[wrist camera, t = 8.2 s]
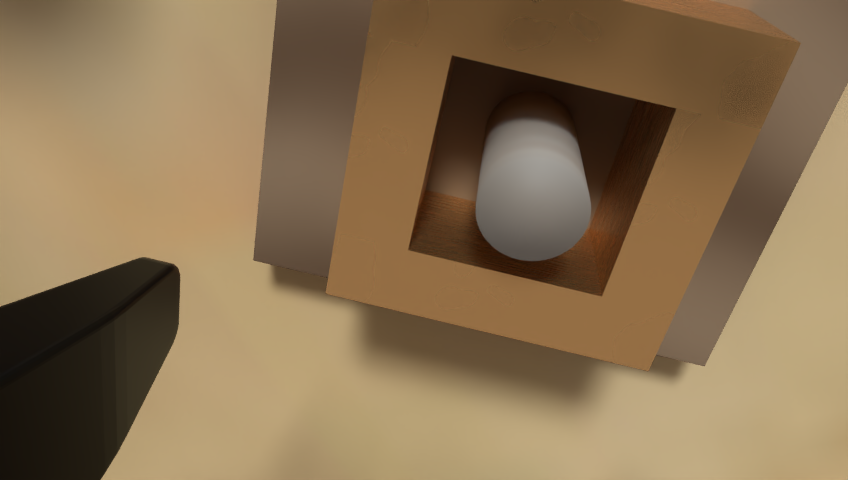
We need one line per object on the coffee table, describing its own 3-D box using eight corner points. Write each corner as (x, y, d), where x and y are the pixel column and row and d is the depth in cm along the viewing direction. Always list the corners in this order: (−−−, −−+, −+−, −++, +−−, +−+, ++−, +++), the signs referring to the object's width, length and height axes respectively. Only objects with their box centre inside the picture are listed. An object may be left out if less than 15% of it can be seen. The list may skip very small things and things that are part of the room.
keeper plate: (692, 332, 19) (748, 486, 15) (271, 233, 20) (190, 354, 15) (873, -48, 15) (1048, -4, 10) (314, -175, 15) (213, -195, 10)
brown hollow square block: (628, 294, 17) (648, 371, 15) (354, 229, 17) (325, 293, 15) (748, 9, 14) (801, 43, 11) (408, -71, 14) (382, -57, 11)
